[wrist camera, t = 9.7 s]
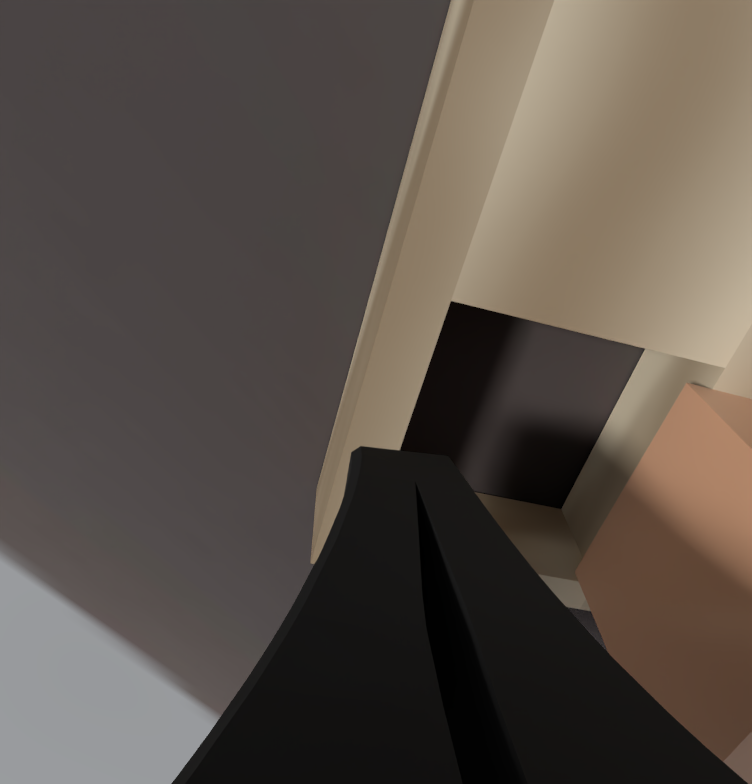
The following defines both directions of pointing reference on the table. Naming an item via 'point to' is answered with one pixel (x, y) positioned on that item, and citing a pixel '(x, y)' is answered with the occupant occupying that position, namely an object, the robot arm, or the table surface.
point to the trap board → (569, 228)
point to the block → (685, 572)
